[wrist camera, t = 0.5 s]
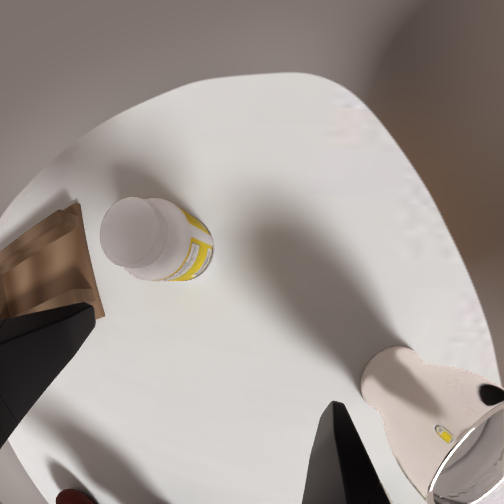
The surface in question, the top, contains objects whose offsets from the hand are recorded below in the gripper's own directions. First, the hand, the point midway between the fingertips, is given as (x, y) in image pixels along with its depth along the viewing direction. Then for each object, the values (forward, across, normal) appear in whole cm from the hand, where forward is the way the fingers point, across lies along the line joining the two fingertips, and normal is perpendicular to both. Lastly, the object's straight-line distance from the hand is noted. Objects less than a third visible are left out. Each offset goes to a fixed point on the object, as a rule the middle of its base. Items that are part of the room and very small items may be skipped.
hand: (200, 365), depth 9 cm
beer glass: (+12, -14, +8) cm, 20 cm away
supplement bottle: (+15, +7, +4) cm, 17 cm away
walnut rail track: (+10, +23, +12) cm, 28 cm away
